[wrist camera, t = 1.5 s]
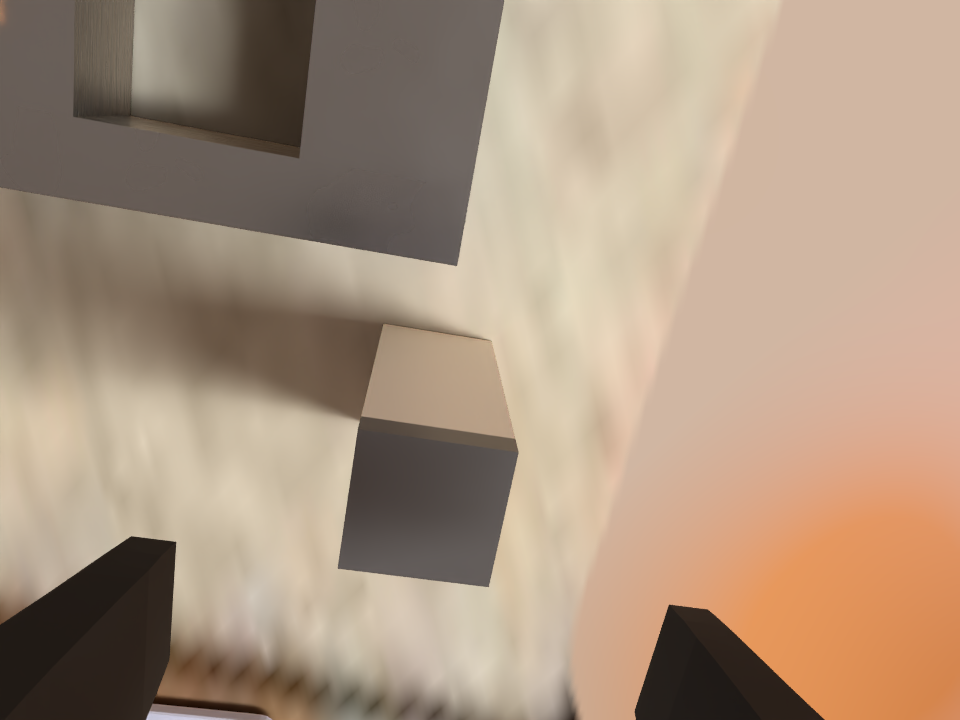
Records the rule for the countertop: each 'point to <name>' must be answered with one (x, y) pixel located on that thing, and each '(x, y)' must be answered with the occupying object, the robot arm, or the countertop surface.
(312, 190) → the graphite socket block
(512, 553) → the countertop surface
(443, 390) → the grey plug
